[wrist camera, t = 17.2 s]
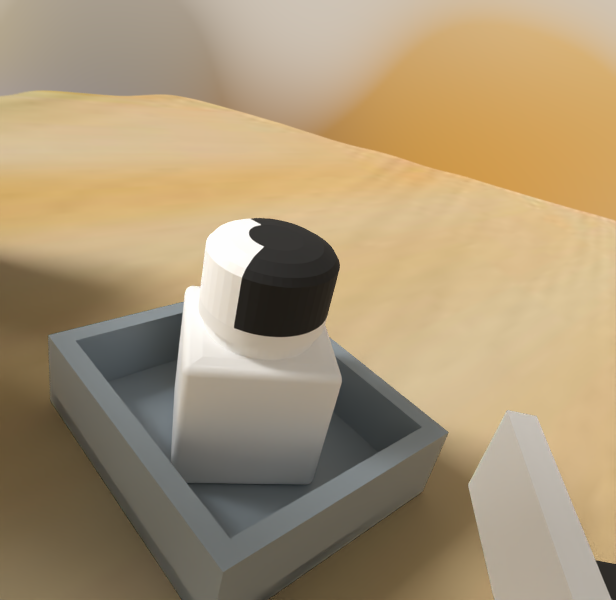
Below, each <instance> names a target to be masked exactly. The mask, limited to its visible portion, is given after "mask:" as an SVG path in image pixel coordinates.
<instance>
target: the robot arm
mask: <svg viewBox="0 0 616 600" xmlns="http://www.w3.org/2000/svg"><path fill="white" fill-rule="evenodd" d="M468 487H469V492H470V496H471V500H472V505H473V509H474V514H475V518H476V522H477V527H478V531H479V536H480V540H481V544H482V549H483V553H484V557H485V562H486V566H487V571H488V575H489V579H490V584H491V588H492V593H493V597H494V600H616V564H612V563H607V562H601V561H596V560H595V558H594V556H593V553H592V551H591V548H590V546H589V543H588V541H587V538H586V536H585V534H584V531H583V529H582V526H581V524H580V521H579V519H578V516H577V514H576V512H575V509H574V507H573V504H572V502H571V499H570V497H569V494H568V492H567V489H566V487H565V485H564V482H563V480H562V477H561V475H560V472H559V470H558V467H557V465H556V463H555V460H554V458H553V455H552V453H551V450H550V448H549V445H548V443H547V440H546V438H545V436H544V433H543V431H542V428H541V426H540V423H539V421H538V418H537V416H533V415H528V414H524V413H519V412H514V411H509V410H507V411H506V413H505V415H504V417H503V419H502V421H501V423H500V424H499V426H498V428H497V430H496V432H495V434H494V436H493V438H492V440H491V442H490V444H489V446H488V447H487V449H486V451H485V453H484V455H483V457H482V459H481V461H480V463H479V465H478V467H477V469H476V470H475V472H474V474H473V476H472V478H471V480H470V482H469V484H468Z"/></svg>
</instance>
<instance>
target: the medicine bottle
mask: <svg viewBox="0 0 616 600" xmlns="http://www.w3.org/2000/svg"><path fill="white" fill-rule="evenodd" d="M339 268H340V263H339V260H338V258H337V256H336V254H335V252H334V250H333V249H332V247H331V246H330V245H329V244H328V243H327V242H326V241H325V240H323V239H322V238H321V237H319V236H318V235H316V234H314V233H312V232H310V231H308V230H306V229H305V228H302V227H300V226H298V225H295V224H292V223H288V222H285V221H280V220H275V219H265V218H254V219H242V220H236V221H232V222H228V223H226V224H223V225H222V226H220V227H219V228H217V229H216V230H215V231H214V232H213V233H211V234H210V236H209V237H208V239H207V241H206V248H205V256H204V264H203V272H202V280H201V287H198V286H190V287H188V288H187V289H186V291H185V297H184V306H183V315H182V324H181V334H180V343H179V352H178V361H177V370H176V379H175V390H174V408H173V426H172V445H171V464H172V465H173V466H174V467H175V469H176V470H177V471H178V473H179V474H180V475H181V476H182V478H183V479H184V480H185V482H186V483H227V484H300V485H307V484H310V483H311V482H312V480H313V478H314V474H315V471H316V468H317V464H318V461H319V458H320V454H321V451H322V447H323V444H324V441H325V437H326V434H327V431H328V427H329V424H330V420H331V417H332V414H333V410H334V407H335V404H336V400H337V397H338V393H339V390H340V387H341V383H342V377H341V374H340V370H339V367H338V364H337V361H336V358H335V354H334V351H333V348H332V345H331V342H330V338H329V335H328V332H327V329H326V326H325V322H326V319H327V315H328V311H329V307H330V303H331V299H332V296H333V292H334V288H335V284H336V280H337V276H338V272H339Z"/></svg>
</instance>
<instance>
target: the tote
mask: <svg viewBox="0 0 616 600" xmlns="http://www.w3.org/2000/svg"><path fill="white" fill-rule="evenodd" d="M183 306H184V302H181V303H176V304H172V305H168V306H164V307H160V308H156V309H152V310H148V311H144V312H140V313H136V314H132V315H128V316H124V317H120V318H116V319H112V320H108V321H103V322H99V323H95V324H91V325H87V326H83V327H79V328H75V329H71V330H67V331H63V332H59V333H55V334H51V335H48V346H49V378H50V401H51V403H52V404H53V406H54V407H55V409H56V410H57V412H58V413H59V415H60V416H61V418H62V419H63V421H64V422H65V424H66V425H67V427H68V428H69V430H70V431H71V433H72V434H73V436H74V437H75V439H76V440H77V442H78V443H79V445H80V446H81V448H82V450H83V451H84V453H85V454H86V456H87V457H88V459H89V460H90V462H91V463H92V465H93V466H94V468H95V469H96V471H97V472H98V474H99V475H100V477H101V478H102V480H103V481H104V483H105V484H106V486H107V487H108V489H109V490H110V492H111V493H112V495H113V496H114V498H115V499H116V501H117V502H118V504H119V505H120V507H121V508H122V510H123V511H124V513H125V514H126V516H127V517H128V519H129V521H130V522H131V524H132V525H133V527H134V528H135V530H136V531H137V533H138V534H139V536H140V537H141V539H142V540H143V542H144V543H145V545H146V546H147V548H148V549H149V551H150V552H151V554H152V555H153V557H154V558H155V560H156V561H157V563H158V564H159V566H160V567H161V569H162V570H163V572H164V573H165V575H166V576H167V578H168V579H169V581H170V582H171V584H172V585H173V587H174V589H175V590H176V592H177V593H178V595H179V596H180V598H181V599H182V600H268V599H269V598H271V597H272V596H274V595H275V594H276V593H278V592H279V591H281V590H282V589H284V588H285V587H286V586H288V585H289V584H291V583H292V582H294V581H295V580H296V579H298V578H299V577H301V576H302V575H304V574H305V573H306V572H308V571H309V570H311V569H312V568H314V567H315V566H317V565H318V564H319V563H321V562H322V561H324V560H325V559H327V558H328V557H329V556H331V555H332V554H334V553H335V552H337V551H338V550H339V549H341V548H342V547H344V546H345V545H347V544H348V543H350V542H351V541H352V540H354V539H355V538H357V537H358V536H360V535H361V534H362V533H364V532H365V531H367V530H368V529H370V528H371V527H372V526H374V525H375V524H377V523H378V522H380V521H381V520H382V519H384V518H385V517H387V516H388V515H390V514H391V513H393V512H394V511H395V510H397V509H398V508H400V507H401V506H403V505H404V504H405V503H407V502H408V501H410V500H411V499H413V498H414V497H415V496H417V495H418V494H420V493H421V492H423V489H424V487H425V485H426V483H427V480H428V478H429V476H430V474H431V471H432V469H433V467H434V464H435V462H436V460H437V458H438V455H439V453H440V451H441V449H442V446H443V444H444V442H445V440H446V437H447V435H448V433H449V432H448V431H446V430H445V429H444V428H443V427H441V426H440V425H439V424H438V423H436V422H435V421H434V420H432V419H431V418H430V417H429V416H427V415H426V414H425V413H424V412H422V411H421V410H420V409H419V408H417V407H416V406H415V405H414V404H412V403H411V402H410V401H409V400H407V399H406V398H405V397H404V396H402V395H401V394H400V393H399V392H397V391H396V390H395V389H394V388H392V387H391V386H390V385H389V384H387V383H386V382H385V381H384V380H382V379H381V378H380V377H379V376H377V375H376V374H375V373H374V372H372V371H371V370H370V369H369V368H367V367H366V366H365V365H364V364H362V363H361V362H360V361H359V360H357V359H356V358H355V357H354V356H352V355H351V354H350V353H349V352H347V351H346V350H345V349H344V348H342V347H341V346H340V345H339V344H337V343H336V342H335V341H333V340H332V339H331V338H330V337H329V338H330V342H331V345H332V348H333V351H334V354H335V358H336V361H337V364H338V367H339V370H340V374H341V377H342V383H341V387H340V390H339V393H338V397H337V400H336V404H335V407H334V410H333V414H332V417H331V420H330V424H329V427H328V431H327V434H326V437H325V441H324V444H323V447H322V451H321V454H320V458H319V461H318V464H317V468H316V471H315V474H314V478H313V480H312V482H311V483H310V484H307V485H300V484H227V483H186V482H185V480H184V479H183V478H182V476H181V475H180V474H179V473H178V471H177V470H176V469H175V467H174V466H173V465H172V464H171V445H172V426H173V408H174V390H175V379H176V370H177V361H178V352H179V343H180V334H181V324H182V315H183Z"/></svg>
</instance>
